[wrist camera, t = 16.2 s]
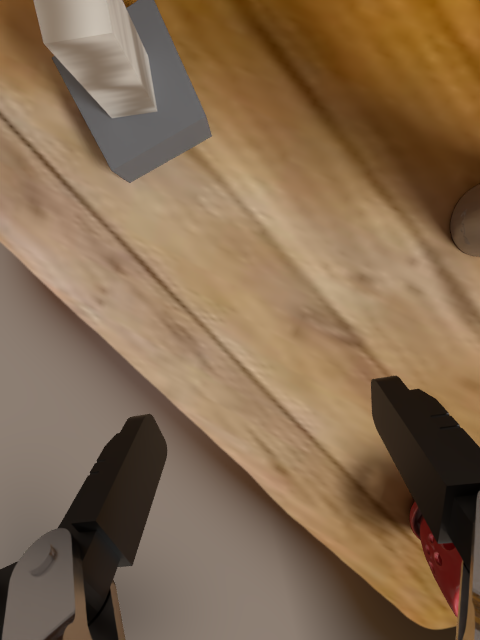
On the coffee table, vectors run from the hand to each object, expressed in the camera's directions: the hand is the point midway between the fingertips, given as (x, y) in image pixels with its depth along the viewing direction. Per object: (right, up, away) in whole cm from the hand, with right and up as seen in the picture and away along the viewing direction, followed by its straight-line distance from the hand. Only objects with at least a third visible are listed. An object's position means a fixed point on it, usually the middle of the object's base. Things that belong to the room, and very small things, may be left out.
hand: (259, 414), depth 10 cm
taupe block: (-12, +28, +18) cm, 35 cm away
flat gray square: (-12, +29, +23) cm, 39 cm away
